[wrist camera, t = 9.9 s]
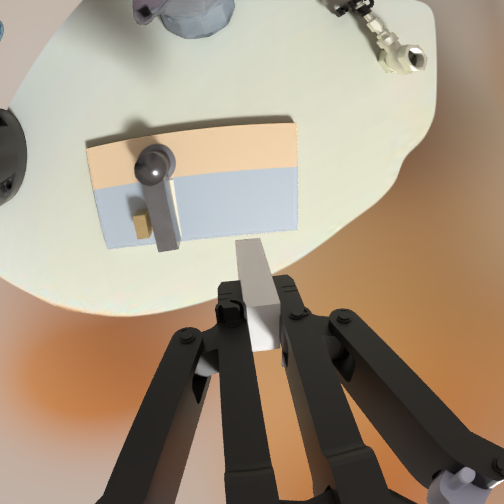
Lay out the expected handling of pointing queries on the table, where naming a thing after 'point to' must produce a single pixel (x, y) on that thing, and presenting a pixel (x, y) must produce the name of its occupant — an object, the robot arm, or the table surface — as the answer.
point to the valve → (387, 42)
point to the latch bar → (159, 198)
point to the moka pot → (186, 15)
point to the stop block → (142, 224)
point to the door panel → (203, 181)
